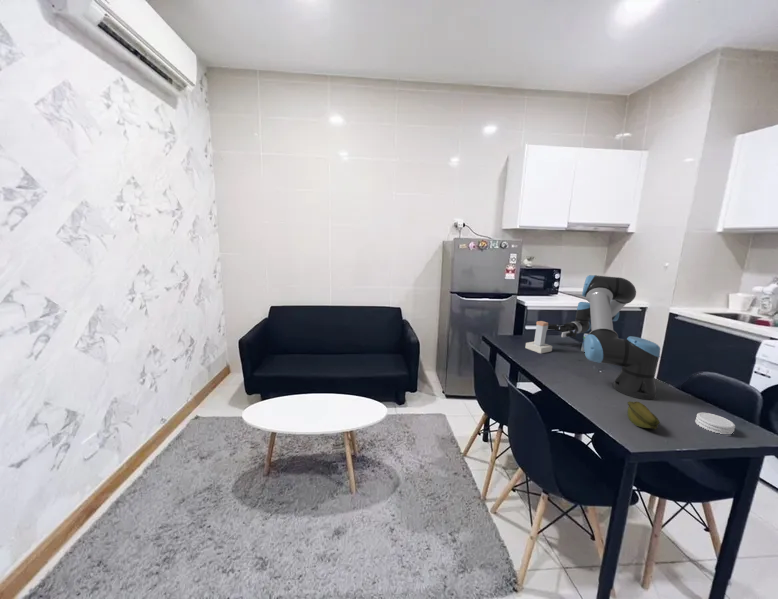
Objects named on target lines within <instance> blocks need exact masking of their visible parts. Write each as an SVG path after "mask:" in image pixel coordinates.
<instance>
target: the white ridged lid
mask: <svg viewBox="0 0 778 599" xmlns="http://www.w3.org/2000/svg"><path fill="white" fill-rule="evenodd" d="M694 422H695V424H696V425H697V426H698V425H699V426H698V427H700V428H701V427H702V429H703V428H704V429H703V430H705V429H706V431H708V430H709V432H710V431H712V432H711V433H713V432H715V433H714V434H716V433H720V434H732V433H733V432H735V428H736V425H735V423H734V422H733V421H731V420H729V419H727V418H725V417H723V416H720V415H717V414H713V413H709V412H698V413H697V414H696V417H695V420H694ZM720 434H719V435H720ZM733 434H734V433H733Z"/></svg>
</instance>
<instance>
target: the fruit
mask: <svg viewBox="0 0 778 599" xmlns="http://www.w3.org/2000/svg"><path fill="white" fill-rule="evenodd" d="M627 405H628V408H627V418H628V419H629V421H630V422H631V423H632V424H633V425H635V427H636V426H637V427H640V428H644V429H651V430H657V429H658V426H659V424H661V423H660V419H659V418H658V417H657V416H656V415H655V414H654V413H653V412H652V411H651V410H649V408H648V407H647V406H645V404H643V403H642V402H641V401H627Z"/></svg>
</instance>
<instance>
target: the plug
mask: <svg viewBox="0 0 778 599" xmlns="http://www.w3.org/2000/svg"><path fill="white" fill-rule="evenodd" d="M535 324H536V326H535V327H536V328H535V333H534V341H533V342H534V344H535V345H537V346H544V345H545V344H546V339H547V338H546V337H547V331H548V330H547V326H548V324H549V322H546V321H544V320H539V321H536V323H535Z"/></svg>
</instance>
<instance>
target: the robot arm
mask: <svg viewBox="0 0 778 599" xmlns="http://www.w3.org/2000/svg"><path fill="white" fill-rule="evenodd" d="M581 296H582V297H584V298H586V301H579V302H578V304H577V307H576V312H575V320H574V321H571V322H565V323H564V324H561V325H560V324H558V323H557V324H556V323H555V324H554V323H553V324H551V323H550V324H549V323H548V326H547V331H548V330H551V331H557V332H561V338H567V337H573V338H576V337H577V335H579V334H586V333H587V332H589V331H590V332H589V333H588V334H589V335H587V336H586V337H585V340H584V352H585V353H584V352H583V353H584V355H585V358H586V359H587V360H588V361H590V362H595V363H597V364H598V363H599V364H600V363H601V364H605V365H606V364H607V365H613V366H618V367H621V369H620V370H621V371H620V372H619V374H618V375H617V377H616V378H615V379H614V381H613V386H612V387H613V388H614V389H615V390H616V391H617V392H620V393H621V394H623V395H627V396H629V397H632V398H636V399H642V400H654V399H656V397H657V387H656V382H655V377H656V372H657V367H658V364H659V359H660V358H661V357H660V353H661V347H660V346H659V344H657V343H655V342H654V341H650V340H648V339H646V338H642V337H638V336H631V335H630V336H628V337H627V338H626V339H624V338H619V335H618V333H617V332H616V331H615V330H614V324H613V322H617V321H619V317H620V311H621V310H623V308H624V307H625V306H626V305H628V304H630V303H631V302H633V301H634V300H635V298H636V296H637V290H636V287H635V285H634V283H632V282H631V281H629V279H626V278H623V277H620V276H619V277H617V276H609V275H608V276H606V275H597V274H595V275H592V274H590V275H587V276H586V277H585V281H584V284H583V288H582V293H581Z"/></svg>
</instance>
